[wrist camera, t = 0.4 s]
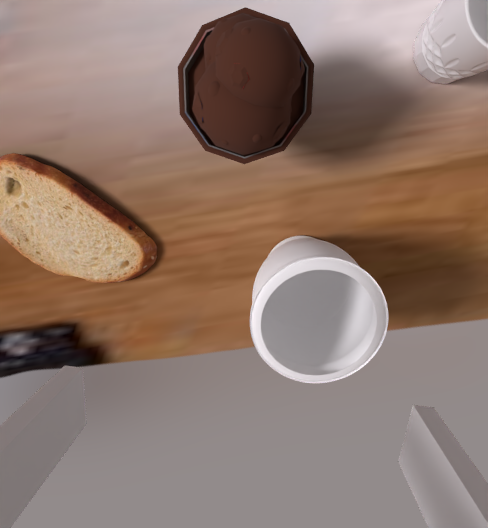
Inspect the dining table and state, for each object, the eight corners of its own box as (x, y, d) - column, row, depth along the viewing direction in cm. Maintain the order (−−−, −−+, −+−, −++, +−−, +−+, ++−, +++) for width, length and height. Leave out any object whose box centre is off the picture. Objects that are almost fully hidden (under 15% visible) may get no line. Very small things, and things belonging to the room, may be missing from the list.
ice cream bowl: (216, 41, 33) (175, -65, 18) (318, 78, 33) (357, 0, 19) (188, 146, 36) (134, 124, 21) (282, 178, 36) (292, 179, 21)
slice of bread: (166, 268, 40) (155, 277, 37) (42, 302, 43) (21, 314, 39) (112, 121, 36) (94, 114, 32) (-22, 168, 39) (-52, 167, 35)
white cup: (396, 85, 33) (450, 46, 23) (418, -6, 31) (488, -90, 21) (475, 95, 32) (562, 61, 23) (502, 4, 30) (611, -76, 21)
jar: (288, 209, 37) (300, 229, 22) (361, 256, 38) (420, 305, 23) (239, 282, 39) (223, 342, 25) (309, 324, 40) (332, 407, 26)
